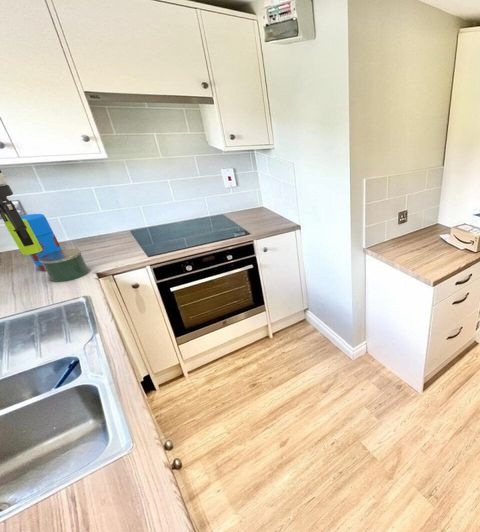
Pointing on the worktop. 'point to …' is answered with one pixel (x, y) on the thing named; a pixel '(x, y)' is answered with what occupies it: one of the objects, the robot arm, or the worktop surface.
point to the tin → (64, 265)
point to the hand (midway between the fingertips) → (25, 243)
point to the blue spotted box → (42, 237)
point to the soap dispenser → (24, 249)
